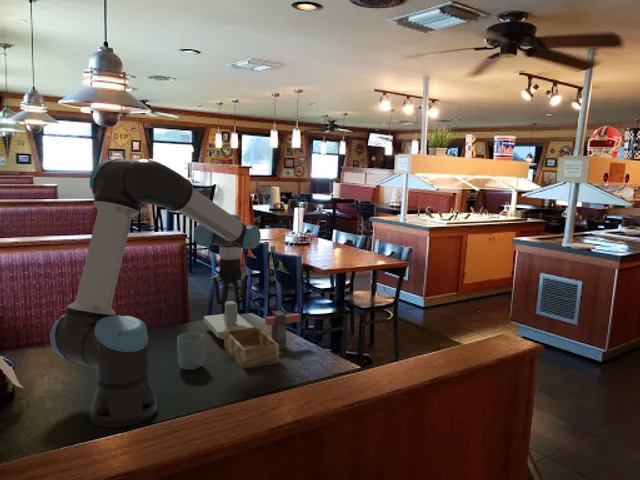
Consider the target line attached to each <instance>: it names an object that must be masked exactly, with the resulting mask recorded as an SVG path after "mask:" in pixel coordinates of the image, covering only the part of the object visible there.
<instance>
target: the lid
mask: <svg viewBox="0 0 640 480" xmlns="http://www.w3.org/2000/svg"><path fill="white" fill-rule="evenodd" d="M225 304H226V305H227V323H225V322H224V321H223V314H222V313H220V314H212V315H204V316H203V323H205V324H206V327H208V328H209V329H210V330H211V331H212V332H213V334H214V335H215V336H216V337H217V338H218V339H219V338H220V339H221V340H224V331H227V330H235V329H243V328H251V327H254V326H253V325H251V324H250V323H249V321H247V320H246V319H245V318H243V316H241V315H240V314H239V312H237V322H236V303H235V301H233V300H228V301H227V300H226V302H225Z"/></svg>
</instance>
